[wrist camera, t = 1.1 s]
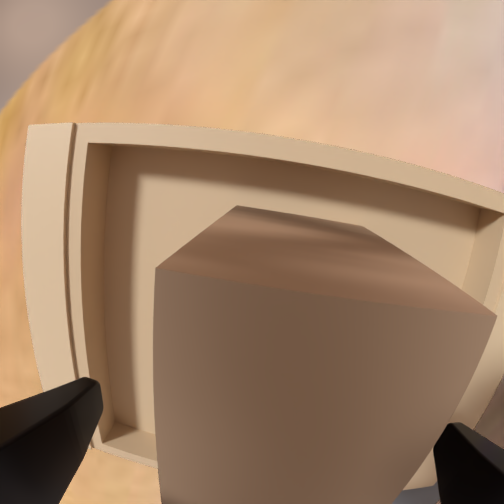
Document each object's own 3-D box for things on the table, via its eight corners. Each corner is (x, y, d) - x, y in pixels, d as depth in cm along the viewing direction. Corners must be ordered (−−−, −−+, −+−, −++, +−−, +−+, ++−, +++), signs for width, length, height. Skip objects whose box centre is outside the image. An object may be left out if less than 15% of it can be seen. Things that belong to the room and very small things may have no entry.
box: (365, 226, 10) (506, 319, 3) (306, 438, 12) (314, 584, 5) (233, 204, 10) (142, 268, 3) (207, 424, 12) (167, 569, 5)
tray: (517, 205, 10) (554, 214, 7) (420, 455, 13) (433, 485, 10) (66, 130, 10) (28, 125, 8) (77, 407, 13) (56, 434, 11)
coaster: (468, 452, 13) (472, 458, 12) (412, 520, 15) (413, 526, 14) (349, 463, 13) (350, 472, 12) (308, 529, 15) (308, 535, 14)
